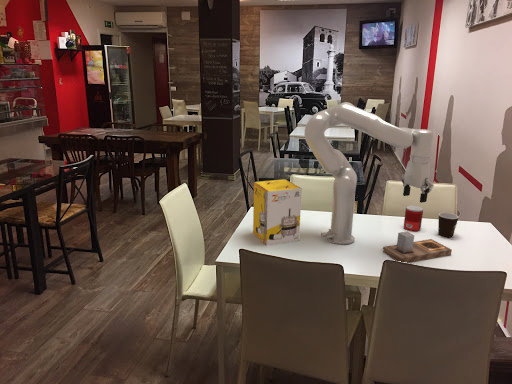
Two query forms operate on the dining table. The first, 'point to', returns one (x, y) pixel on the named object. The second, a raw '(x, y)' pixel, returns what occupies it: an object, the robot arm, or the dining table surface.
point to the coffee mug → (447, 224)
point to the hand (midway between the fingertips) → (414, 198)
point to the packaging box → (276, 211)
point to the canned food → (413, 218)
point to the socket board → (419, 251)
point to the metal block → (405, 242)
